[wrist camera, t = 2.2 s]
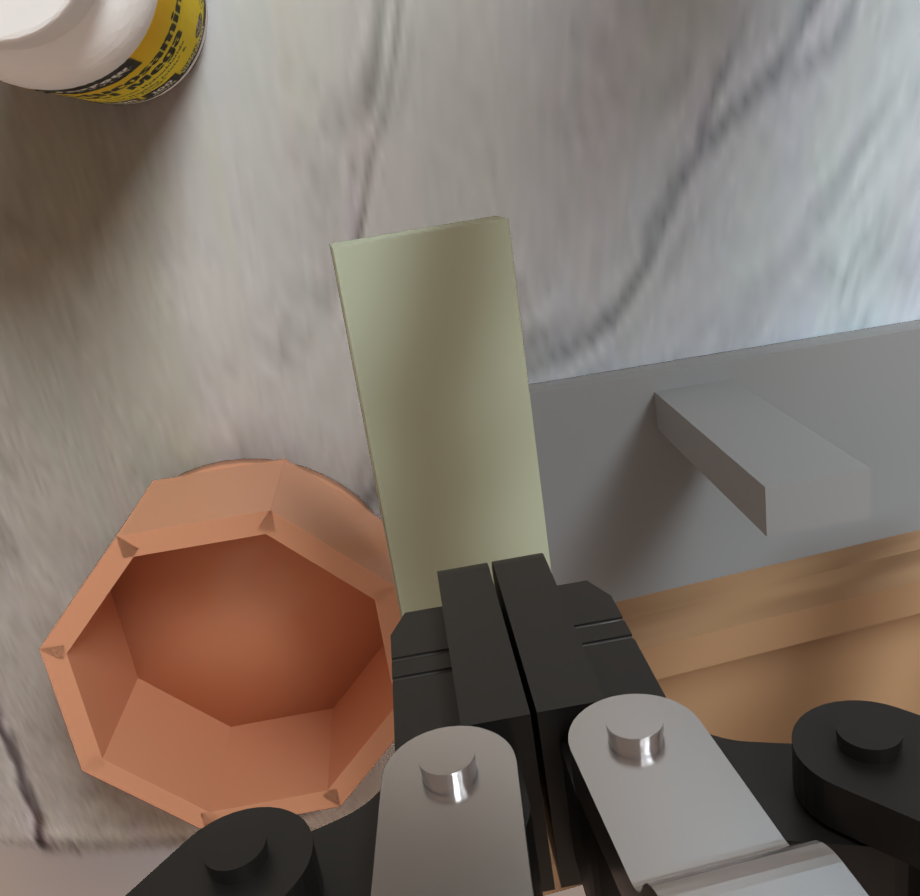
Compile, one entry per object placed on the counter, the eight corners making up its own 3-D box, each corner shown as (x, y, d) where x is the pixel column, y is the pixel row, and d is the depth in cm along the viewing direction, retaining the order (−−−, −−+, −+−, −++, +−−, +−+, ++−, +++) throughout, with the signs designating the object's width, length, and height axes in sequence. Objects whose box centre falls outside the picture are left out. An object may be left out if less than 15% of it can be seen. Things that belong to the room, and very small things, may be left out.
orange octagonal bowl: (67, 486, 34) (5, 554, 28) (377, 434, 34) (378, 491, 29) (148, 744, 38) (109, 849, 32) (425, 694, 38) (435, 788, 33)
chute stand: (951, 314, 35) (1203, 386, 24) (938, 620, 40) (1145, 792, 29) (403, 405, 34) (417, 521, 23) (456, 708, 39) (487, 919, 28)
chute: (1142, 100, 26) (1312, 88, 21) (1085, 634, 32) (1209, 706, 27) (324, 237, 22) (336, 254, 18) (434, 806, 28) (462, 918, 24)
